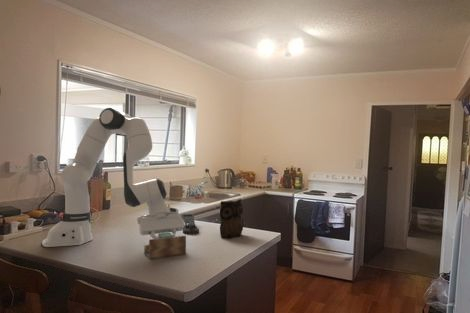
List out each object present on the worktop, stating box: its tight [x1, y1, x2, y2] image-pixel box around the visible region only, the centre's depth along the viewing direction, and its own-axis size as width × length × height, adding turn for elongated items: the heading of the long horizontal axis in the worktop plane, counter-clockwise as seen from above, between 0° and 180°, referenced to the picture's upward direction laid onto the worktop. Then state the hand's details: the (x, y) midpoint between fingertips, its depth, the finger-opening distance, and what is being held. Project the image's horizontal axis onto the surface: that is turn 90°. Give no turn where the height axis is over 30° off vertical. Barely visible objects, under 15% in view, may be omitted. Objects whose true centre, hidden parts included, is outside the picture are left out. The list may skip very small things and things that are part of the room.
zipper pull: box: [180, 213, 200, 236], centre depth 199 cm, size 9×7×25 cm
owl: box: [219, 198, 245, 240], centre depth 183 cm, size 13×13×20 cm
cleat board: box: [143, 235, 187, 260], centre depth 152 cm, size 16×10×8 cm, turn 120°
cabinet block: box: [157, 232, 173, 239], centre depth 152 cm, size 5×6×8 cm
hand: (165, 240), depth 151 cm, fingers open, 6 cm apart
